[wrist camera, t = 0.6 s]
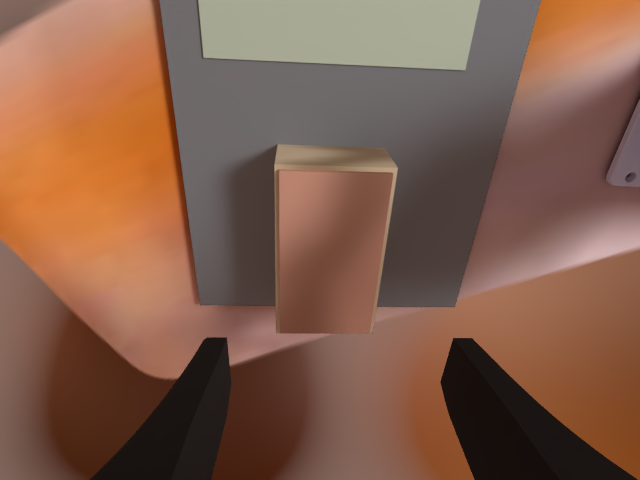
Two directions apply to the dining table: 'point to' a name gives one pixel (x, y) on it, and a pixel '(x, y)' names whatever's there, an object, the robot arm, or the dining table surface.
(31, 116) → the dining table surface
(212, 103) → the mat
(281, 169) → the pink rectangular box
